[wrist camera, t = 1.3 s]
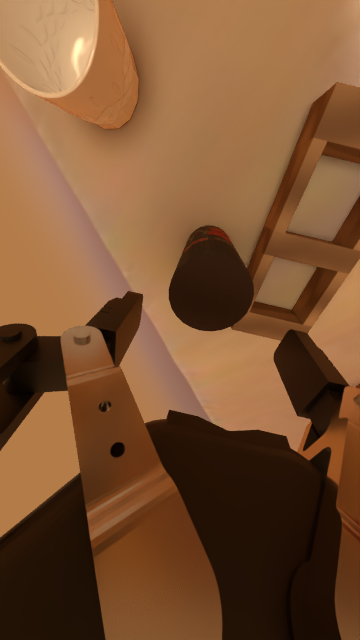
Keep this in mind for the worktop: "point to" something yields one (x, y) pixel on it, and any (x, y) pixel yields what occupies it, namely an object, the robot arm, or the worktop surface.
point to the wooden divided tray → (330, 257)
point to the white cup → (71, 57)
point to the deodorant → (210, 282)
